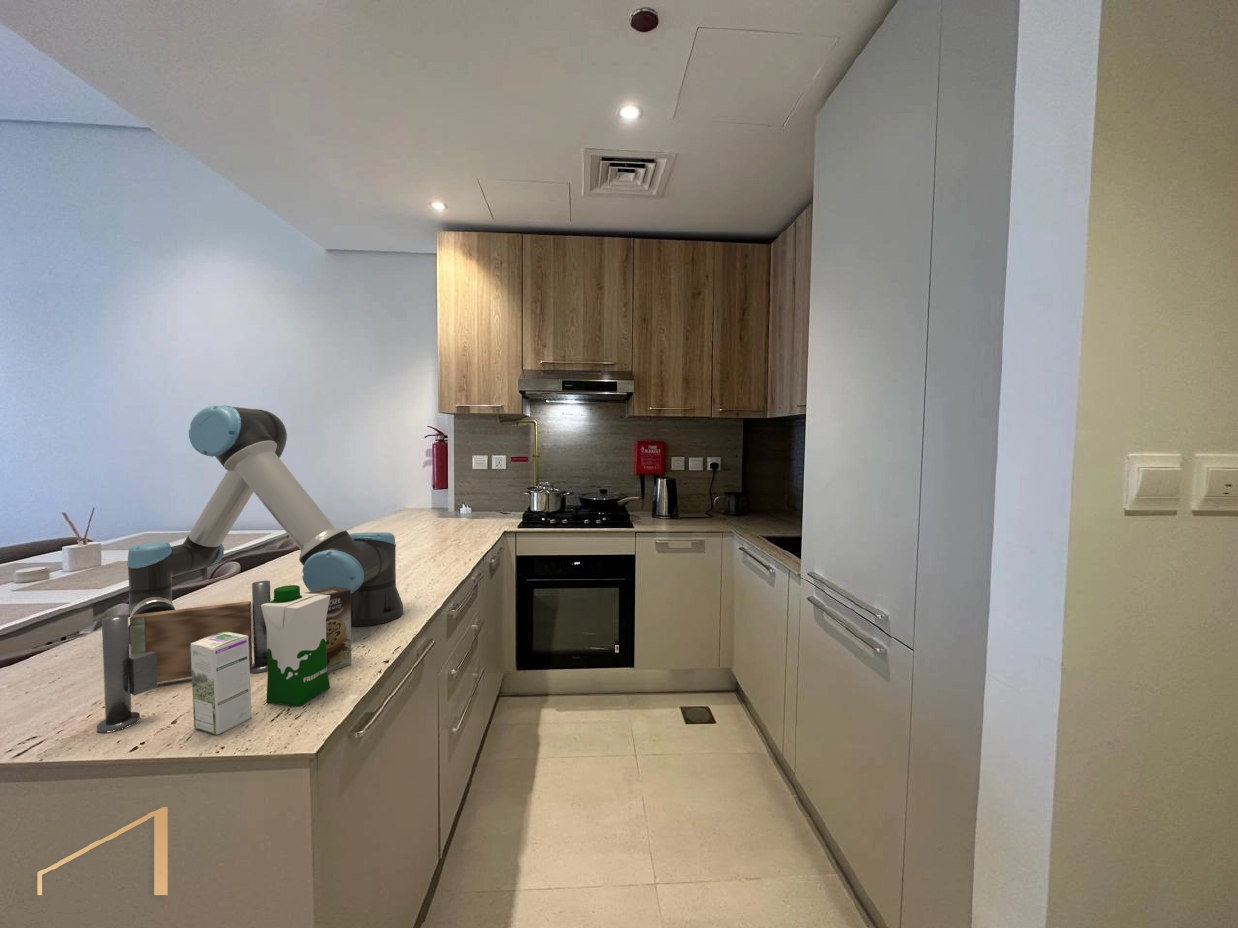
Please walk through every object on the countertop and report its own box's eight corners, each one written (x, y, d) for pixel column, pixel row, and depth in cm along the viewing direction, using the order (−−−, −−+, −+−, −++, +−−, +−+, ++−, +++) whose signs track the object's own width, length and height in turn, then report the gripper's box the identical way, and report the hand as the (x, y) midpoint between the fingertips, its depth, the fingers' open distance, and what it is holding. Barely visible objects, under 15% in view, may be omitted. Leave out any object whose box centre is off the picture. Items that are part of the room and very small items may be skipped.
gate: (252, 662, 101) (250, 600, 101) (250, 666, 99) (248, 603, 99) (136, 681, 93) (134, 614, 93) (132, 686, 91) (129, 617, 91)
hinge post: (268, 660, 105) (266, 578, 104) (283, 664, 103) (281, 580, 102) (242, 670, 100) (240, 584, 99) (257, 675, 98) (255, 587, 97)
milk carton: (298, 681, 95) (296, 580, 95) (338, 686, 94) (336, 583, 93) (257, 704, 87) (254, 594, 86) (300, 710, 85) (297, 597, 84)
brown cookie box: (307, 681, 95) (305, 600, 95) (291, 673, 99) (289, 595, 98) (353, 663, 103) (351, 588, 103) (336, 657, 107) (335, 584, 106)
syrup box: (253, 717, 83) (251, 633, 82) (214, 736, 77) (212, 647, 77) (230, 711, 85) (228, 629, 84) (191, 730, 79) (188, 642, 78)
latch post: (142, 709, 85) (138, 608, 85) (158, 715, 83) (155, 612, 83) (90, 728, 79) (86, 620, 79) (106, 736, 77) (102, 624, 77)
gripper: (192, 625, 116) (206, 654, 100) (113, 641, 107) (115, 676, 91) (191, 594, 116) (205, 618, 100) (112, 608, 107) (113, 636, 90)
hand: (162, 646), depth 95 cm, fingers closed
